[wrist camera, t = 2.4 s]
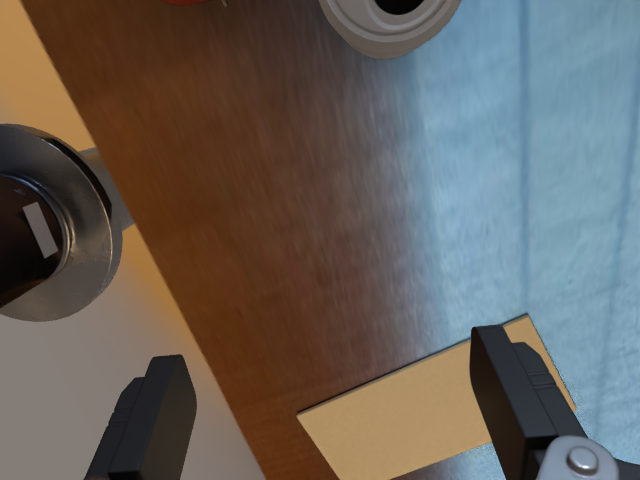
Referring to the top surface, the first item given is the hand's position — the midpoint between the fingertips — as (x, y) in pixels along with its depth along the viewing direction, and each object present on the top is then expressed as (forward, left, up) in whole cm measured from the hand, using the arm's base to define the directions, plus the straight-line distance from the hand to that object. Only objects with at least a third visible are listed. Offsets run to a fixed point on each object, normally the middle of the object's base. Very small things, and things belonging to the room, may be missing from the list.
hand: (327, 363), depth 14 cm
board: (-4, -19, -22) cm, 29 cm away
